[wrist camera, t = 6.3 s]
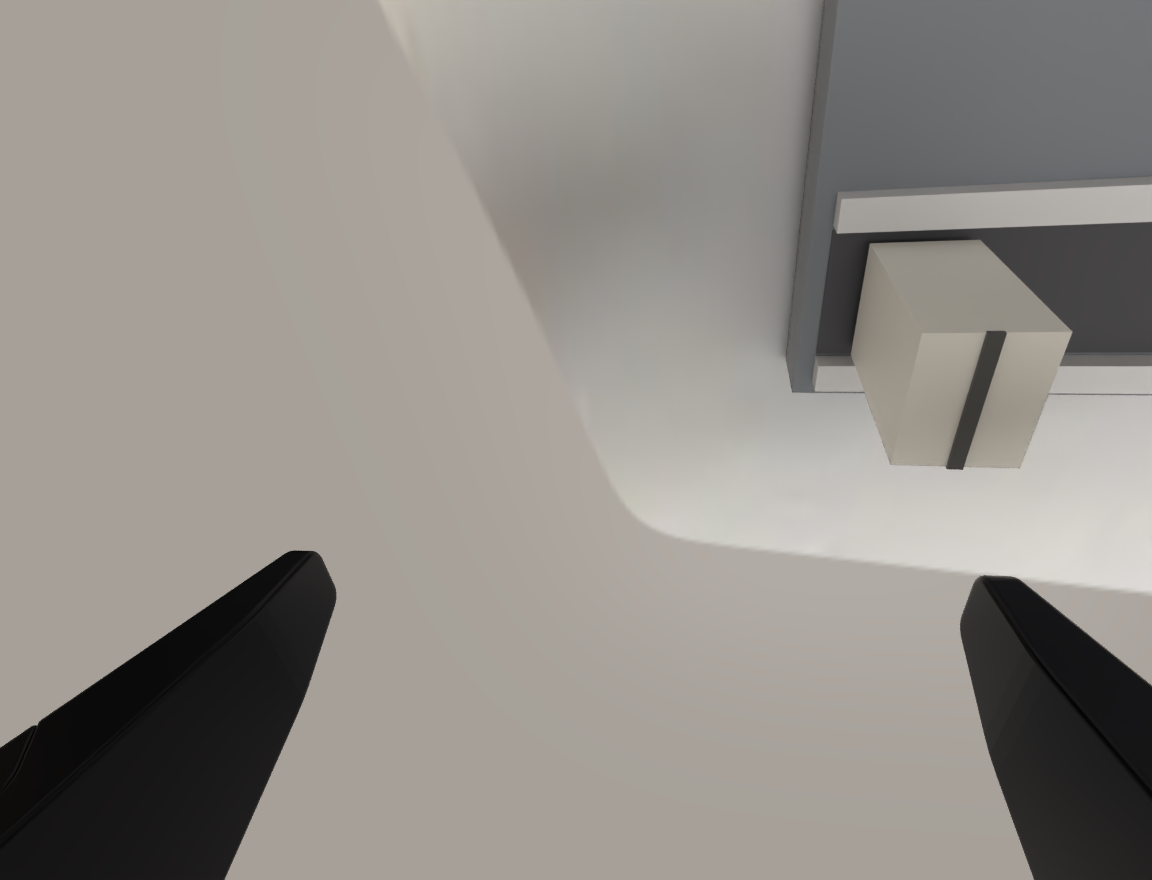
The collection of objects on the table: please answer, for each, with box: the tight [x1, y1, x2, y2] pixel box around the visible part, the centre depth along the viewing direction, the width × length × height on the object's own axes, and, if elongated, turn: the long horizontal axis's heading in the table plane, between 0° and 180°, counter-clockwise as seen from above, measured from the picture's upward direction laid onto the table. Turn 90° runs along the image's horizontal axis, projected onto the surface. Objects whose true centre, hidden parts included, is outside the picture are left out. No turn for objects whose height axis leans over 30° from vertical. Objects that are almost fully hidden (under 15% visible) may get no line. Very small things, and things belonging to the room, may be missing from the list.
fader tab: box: [851, 240, 1072, 470], centre depth 14 cm, size 2×3×5 cm
